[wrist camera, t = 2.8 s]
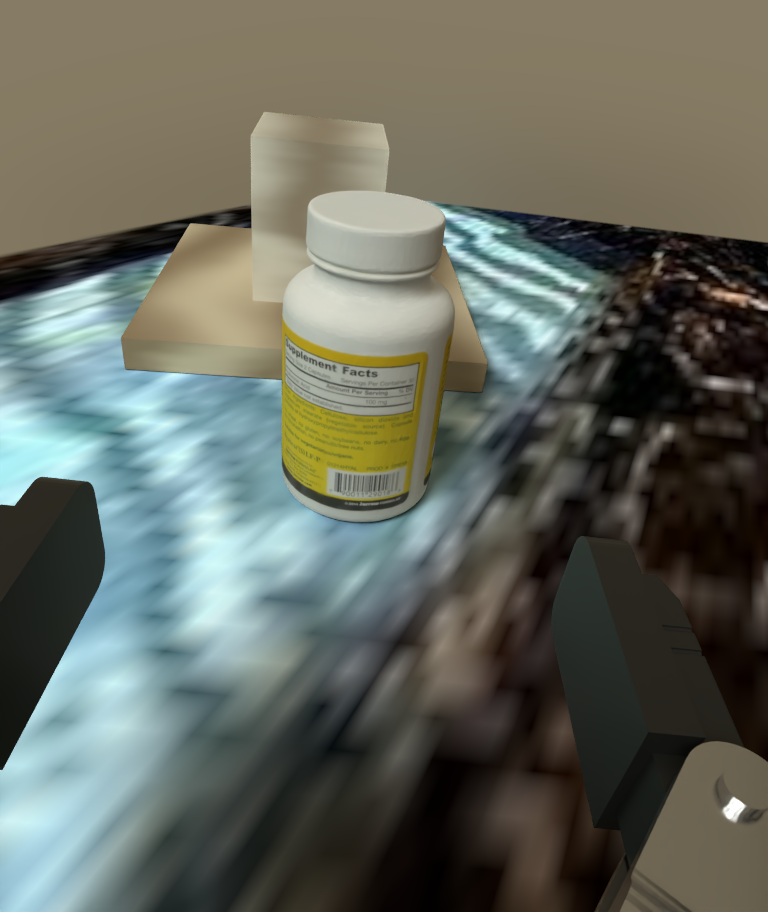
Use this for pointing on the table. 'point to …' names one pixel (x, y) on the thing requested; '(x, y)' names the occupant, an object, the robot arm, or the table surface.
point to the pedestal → (271, 261)
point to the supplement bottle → (365, 355)
